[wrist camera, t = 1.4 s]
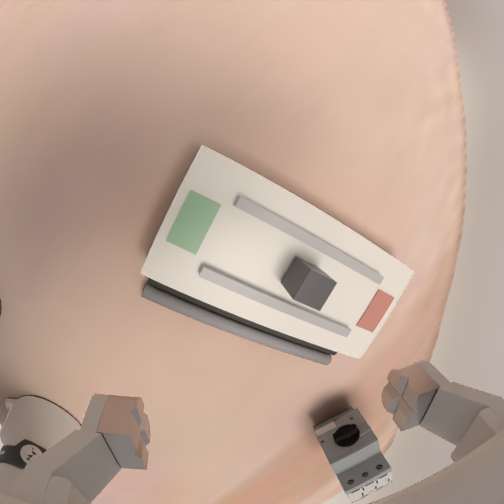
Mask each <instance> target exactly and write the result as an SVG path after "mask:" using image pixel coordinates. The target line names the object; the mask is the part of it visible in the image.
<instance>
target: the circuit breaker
mask: <svg viewBox="0 0 504 504" xmlns="http://www.w3.org/2000/svg"><path fill="white" fill-rule="evenodd" d="M313 428H314V432H315V434H316V436H317V438H318V440H319V442H320V444H321V446H322V448H323V450H324V453H325V455H326V457H327V459H328V461H329V463H330V465H331V467H332V468H333V470H334V472H335V473H336V475H337V477H338V479H339V481H340V483H341V485H342V487H343V489H344V491H345V493H346V494H347V496H348V497H349V499H350V501H351V502H352V503H354V502H356V501H358V500H361V499H363V498H364V497H366V496H368V495H370V492H372V491H375V492H376V491H378V490H380V489H381V488H383V487H385V486H386V485H389V484H390V483H392V471H391V467H390V465H389V464H388V462H387V461H386V459H385V458H384V456H383V454H382V453H381V451H380V447H379V442H378V439H377V437H376V436H375V434H374V433H373V431H372V430H371V428H370V426H369V425H368V424H367V422H366V421H365V420H364V418H363V417H362V415H361V414H360V412H359V411H358V409H357V408H356V409H354V410H353V409H352V408H350V409H348V410H346V411H344V412H342V413H341V414H339V415H337V416H335V417H333V418H331V419H329V420H327V421H325V422H323V423H321V424H319V425H317V426H315V427H313Z"/></svg>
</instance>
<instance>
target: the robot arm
mask: <svg viewBox="0 0 504 504" xmlns="http://www.w3.org/2000/svg"><path fill="white" fill-rule="evenodd" d="M387 379H388V381H389V383H388V384H387V385H386V386H385V387H384V389H383V392H382V403H383V406H384V408H385V409H386V411H387V412H390V413H392V414H393V421H394V422H395V423H396V425H397V426H398V427H399V429H400V430H401V431H404V430H406V429H409V428H412V427H414V426H417V425H420V426H421V427H423V428H425V429H426V430H428V431H430V432H432V433H434V434H436V435H438V436H440V437H441V438H443V439H445V440H447V441H449V442H451V443H453V444H455V445H457V447H456V448H455V450H454V451H453V452H452V454H451V458H452V460H453V461H454V463H453V464H451V465H449V466H447V467H446V468H444V469H442V470H441V471H439V472H437V473H435V474H433V475H431V476H430V477H428V478H426V479H424V480H422V481H420V482H418V483H416V484H414V485H412V486H410V487H407V488H405V489H403V490H401V491H399V492H396V493H394V494H392V495H389V496H387V497H385V498H382V499H380V500H377V501H374V502H372V503H369V504H504V399H503V398H501V397H499V396H496V395H492V394H489V393H486V392H483V391H479V390H477V389H473V388H470V387H467V386H464V385H461V384H458V383H455V382H452V383H450V382H449V381H448V380H447V379H446V378H445V377H444V376H443V375H442V374H441V373H440V372H439V371H438V370H437V369H436V368H435V367H434V366H433V365H432V364H431V363H430V362H429V361H427V360H422V361H419V362H415V363H413V364H409V365H406V366H402V367H399V368H395V369H392V370H391V371H390V372H389V374H388V377H387ZM5 406H6V409H7V412H8V414H7V416H6V419H5V421H4V423H3V426H2V428H1V431H0V437H1V441H2V443H3V445H4V446H3V447H2V449H1V451H0V504H91V502H92V501H93V500H94V499H95V497H96V496H97V495H98V494H99V493H100V492H101V491H102V490H103V489H104V488H105V486H106V485H107V484H108V483H109V482H110V481H111V480H112V479H113V477H114V476H115V475H116V474H117V473H118V472H119V471H120V469H121V468H130V469H145V470H147V462H148V451H147V448H146V445H147V444H148V443H150V424H149V420H148V416H147V415H146V414H145V413H144V412H143V410H144V404H143V401H142V398H140V397H128V396H116V395H104V394H96V393H95V394H94V395H93V396H92V398H91V401H90V404H89V406H88V409H87V412H86V415H85V417H84V420H83V423H82V426H81V425H80V424H79V423H78V422H77V421H76V420H75V419H74V418H73V417H72V416H71V415H69V414H68V413H67V412H66V411H64V410H63V409H61V408H60V407H58V406H56V405H55V404H53V403H51V402H49V401H46V400H44V399H41V398H38V397H34V396H23V397H21V398H19V399H11V398H7V399H6V401H5Z"/></svg>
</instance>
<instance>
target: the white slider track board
mask: <svg viewBox="0 0 504 504" xmlns="http://www.w3.org/2000/svg"><path fill="white" fill-rule="evenodd" d="M295 256H297V257H299V258H301V259H303V260H305V261H307V262H309V263H311V264H313V265H315V266H316V267H318V268H320V269H321V270H323V271H324V272H325V273H326V274H327V275H329V276H330V277H331V278H332V279H333V280H335V281H336V282H337V284H336V286H335V287H334V289H333V291H332V292H331V294H330V296H329V297H328V299H327V301H326V302H325V304H324V305H323V307H322V309H321V310H320V311H318V310H316V309H314V308H311V307H309V306H307V305H304V304H302V303H300V302H297V301H295V300H293V299H292V297H291V296H290V295H289V293H288V292H287V291H286V289H285V288H284V287H283V285H282V284H281V281H282V279H283V277H284V276H285V274H286V272H287V270H288V269H289V267H290V265H291V263H292V262H293V260H294V258H295ZM413 273H414V271H413V270H411V269H410V268H408V267H407V266H405V265H404V264H403V263H401V262H400V261H398V260H397V259H395V258H394V257H392V256H391V255H389V254H388V253H387V252H385V251H384V250H382V249H381V248H379V247H378V246H376V245H375V244H373V243H372V242H370V241H369V240H367V239H366V238H364V237H362V236H361V235H359V234H358V233H356V232H355V231H353V230H352V229H350V228H348V227H347V226H345V225H344V224H342V223H341V222H339V221H337V220H336V219H334V218H333V217H331V216H329V215H328V214H326V213H324V212H323V211H321V210H320V209H318V208H316V207H315V206H313V205H311V204H310V203H308V202H306V201H305V200H303V199H301V198H299V197H298V196H296V195H294V194H293V193H291V192H289V191H287V190H286V189H284V188H282V187H281V186H279V185H277V184H275V183H273V182H272V181H270V180H268V179H266V178H265V177H263V176H261V175H259V174H257V173H256V172H254V171H252V170H250V169H248V168H246V167H244V166H243V165H241V164H239V163H237V162H235V161H233V160H231V159H229V158H228V157H226V156H224V155H222V154H220V153H218V152H216V151H214V150H212V149H210V148H208V147H206V146H204V145H202V146H201V148H200V149H199V151H198V153H197V155H196V157H195V159H194V161H193V162H192V164H191V166H190V168H189V170H188V172H187V174H186V176H185V178H184V180H183V182H182V184H181V185H180V187H179V189H178V191H177V193H176V195H175V197H174V200H173V202H172V204H171V206H170V208H169V210H168V212H167V214H166V216H165V218H164V220H163V222H162V225H161V227H160V229H159V231H158V233H157V235H156V238H155V240H154V242H153V244H152V247H151V249H150V251H149V253H148V256H147V258H146V260H145V263H144V265H143V268H142V270H141V272H140V274H142V275H144V276H146V277H148V278H150V279H153V280H155V281H157V282H159V283H161V284H164V285H166V286H168V287H170V288H173V289H175V290H177V291H179V292H182V293H184V294H186V295H189V296H191V297H193V298H196V299H198V300H200V301H203V302H205V303H207V304H210V305H212V306H215V307H217V308H220V309H222V310H224V311H227V312H229V313H232V314H234V315H237V316H239V317H242V318H244V319H247V320H250V321H252V322H255V323H257V324H260V325H262V326H265V327H268V328H270V329H273V330H276V331H278V332H281V333H284V334H287V335H289V336H292V337H295V338H298V339H300V340H303V341H306V342H309V343H312V344H315V345H318V346H321V347H323V348H326V349H329V350H332V351H335V352H338V353H341V354H345V355H348V356H351V357H354V358H357V359H360V358H361V356H362V355H363V354H364V352H365V351H366V349H367V348H368V346H369V345H370V343H371V342H372V341H373V339H374V338H375V336H376V335H377V333H378V332H379V330H380V329H381V327H382V325H383V324H384V322H385V321H386V319H387V318H388V316H389V314H390V313H391V311H392V310H393V308H394V306H395V305H396V303H397V301H398V300H399V298H400V296H401V295H402V293H403V291H404V289H405V288H406V286H407V284H408V282H409V281H410V279H411V277H412V275H413Z"/></svg>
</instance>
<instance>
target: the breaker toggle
mask: <svg viewBox="0 0 504 504" xmlns="http://www.w3.org/2000/svg"><path fill="white" fill-rule="evenodd" d="M281 284H282V285H283V287H284V288H285V289H286V291H287V292H288V293H289V295H290V296H291V297H292V299H293V300H295V301H297V302H300V303H302V304H304V305H307V306H309V307H311V308H314V309H316V310H318V311H320V310H321V309H322V307H323V305H324V304H325V302H326V301H327V299H328V297H329V296H330V294H331V292H332V291H333V289H334V287H335V286H336V284H337V282H336V281H335V280H333V279H332V278H331V277H330V276H329V275H327V274H326V273H325V272H324V271H323V270H321V269H320V268H318V267H316V266H315V265H313V264H311V263H309V262H307V261H305V260H303V259H301V258H299V257H297V256H295V258H294V260H293V262H292V263H291V265H290V267H289V269H288V270H287V272H286V274H285V276H284V277H283V279H282V281H281Z"/></svg>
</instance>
